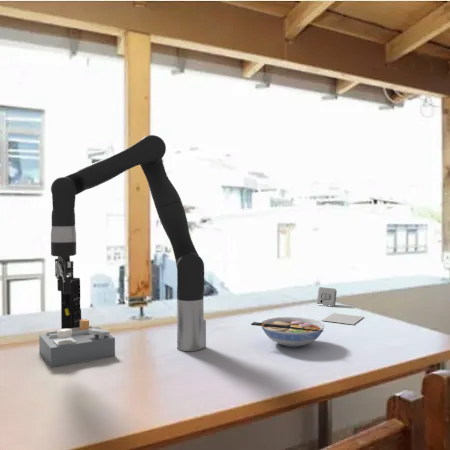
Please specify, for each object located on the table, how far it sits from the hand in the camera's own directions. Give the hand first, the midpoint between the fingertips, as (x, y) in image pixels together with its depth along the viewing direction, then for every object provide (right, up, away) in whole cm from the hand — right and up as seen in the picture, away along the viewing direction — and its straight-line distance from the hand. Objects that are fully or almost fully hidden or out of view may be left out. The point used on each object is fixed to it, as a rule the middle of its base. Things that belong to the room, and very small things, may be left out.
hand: (64, 292), depth 138 cm
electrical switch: (+104, -20, +87) cm, 137 cm away
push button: (0, -14, 0) cm, 14 cm away
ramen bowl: (+75, -22, +17) cm, 80 cm away
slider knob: (+2, -15, +13) cm, 21 cm away
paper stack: (+105, -21, +49) cm, 118 cm away
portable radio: (-7, -22, +26) cm, 34 cm away
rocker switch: (+9, -14, +6) cm, 18 cm away
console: (+1, -22, +7) cm, 23 cm away
